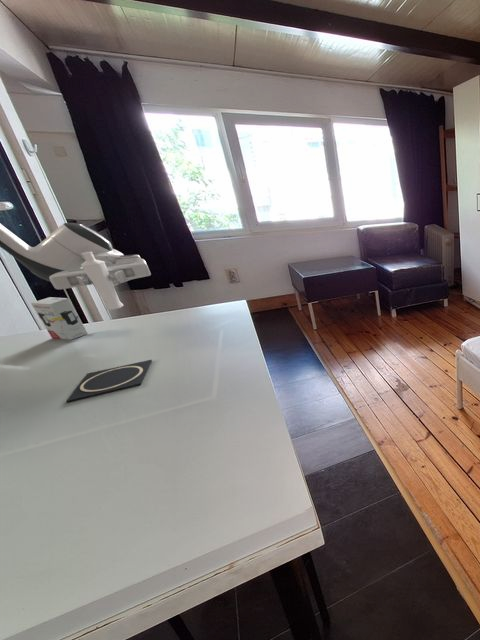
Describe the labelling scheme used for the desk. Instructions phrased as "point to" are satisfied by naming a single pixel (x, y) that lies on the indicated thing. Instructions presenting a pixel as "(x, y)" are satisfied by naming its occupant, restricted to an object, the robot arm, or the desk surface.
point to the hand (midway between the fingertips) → (99, 280)
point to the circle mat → (110, 380)
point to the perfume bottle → (101, 280)
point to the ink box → (59, 318)
